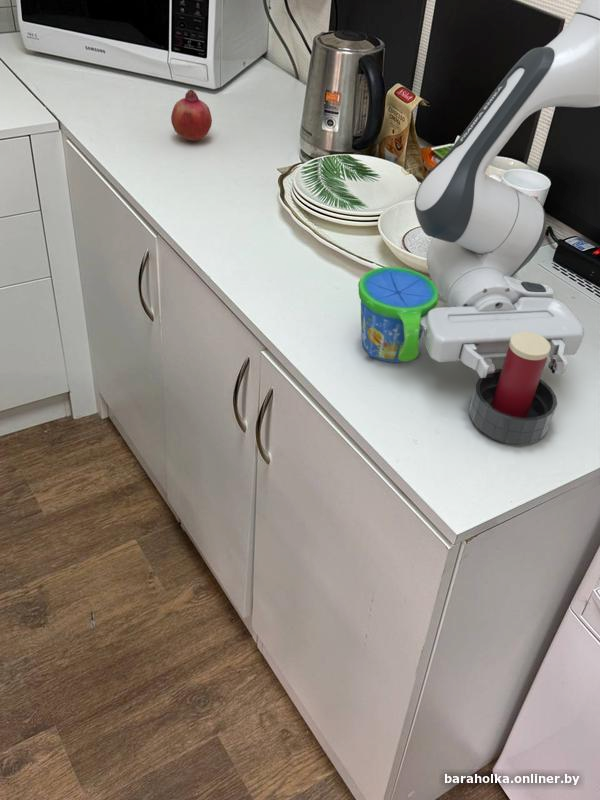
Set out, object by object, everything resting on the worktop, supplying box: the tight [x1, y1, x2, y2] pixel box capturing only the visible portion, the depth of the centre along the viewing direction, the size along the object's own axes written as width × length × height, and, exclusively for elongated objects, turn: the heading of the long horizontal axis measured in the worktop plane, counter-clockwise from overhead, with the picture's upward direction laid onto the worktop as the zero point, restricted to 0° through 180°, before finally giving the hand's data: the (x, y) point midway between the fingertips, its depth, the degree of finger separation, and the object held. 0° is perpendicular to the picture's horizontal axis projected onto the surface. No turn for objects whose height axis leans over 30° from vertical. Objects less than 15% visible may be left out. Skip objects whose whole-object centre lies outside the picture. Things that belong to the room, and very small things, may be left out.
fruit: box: [170, 88, 213, 142], centre depth 160 cm, size 8×8×10 cm
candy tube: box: [491, 332, 551, 418], centre depth 99 cm, size 5×5×12 cm
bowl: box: [468, 368, 558, 446], centre depth 101 cm, size 10×10×4 cm
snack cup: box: [357, 266, 439, 363], centre depth 109 cm, size 16×10×10 cm
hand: (525, 371), depth 97 cm, fingers open, 8 cm apart
